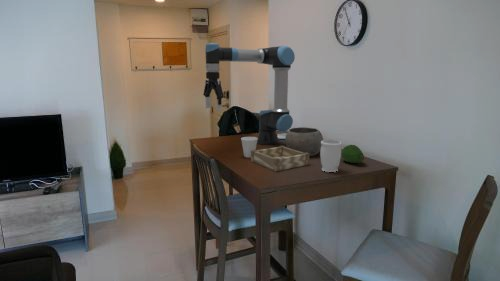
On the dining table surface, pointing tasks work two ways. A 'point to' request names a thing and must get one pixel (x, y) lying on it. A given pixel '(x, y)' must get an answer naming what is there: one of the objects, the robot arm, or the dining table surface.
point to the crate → (279, 158)
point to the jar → (330, 155)
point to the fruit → (352, 154)
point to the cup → (248, 145)
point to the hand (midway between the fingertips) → (213, 109)
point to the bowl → (304, 140)
